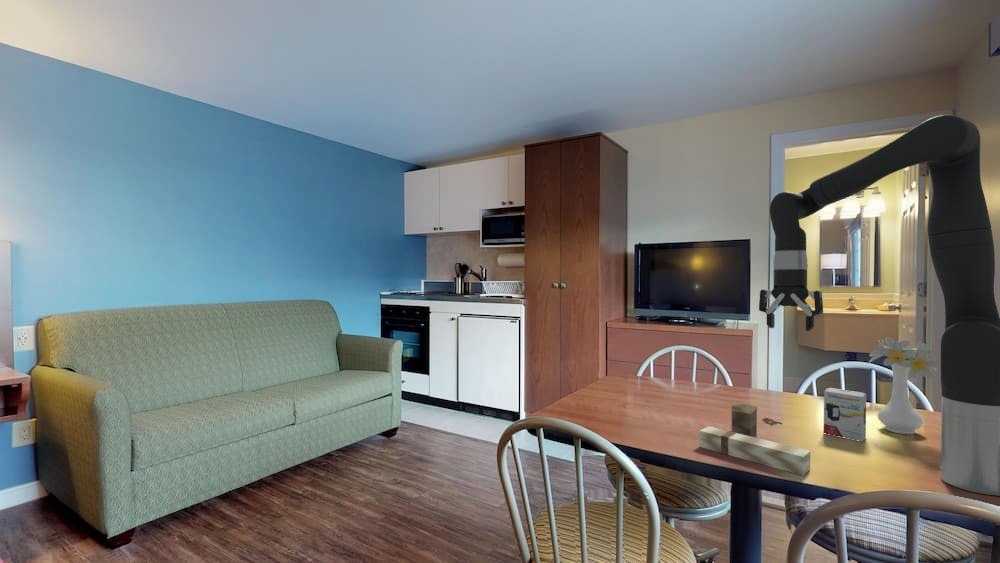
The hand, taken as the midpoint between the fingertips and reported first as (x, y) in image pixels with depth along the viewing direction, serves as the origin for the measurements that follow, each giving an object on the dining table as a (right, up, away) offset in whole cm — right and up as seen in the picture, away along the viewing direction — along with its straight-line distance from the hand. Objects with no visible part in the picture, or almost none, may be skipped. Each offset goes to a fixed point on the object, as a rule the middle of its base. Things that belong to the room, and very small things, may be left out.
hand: (789, 329), depth 120 cm
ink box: (+14, -28, -1) cm, 32 cm away
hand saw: (0, -29, +19) cm, 35 cm away
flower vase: (+33, -28, +3) cm, 43 cm away
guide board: (-19, -28, -15) cm, 37 cm away
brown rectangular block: (-15, -28, -5) cm, 32 cm away
